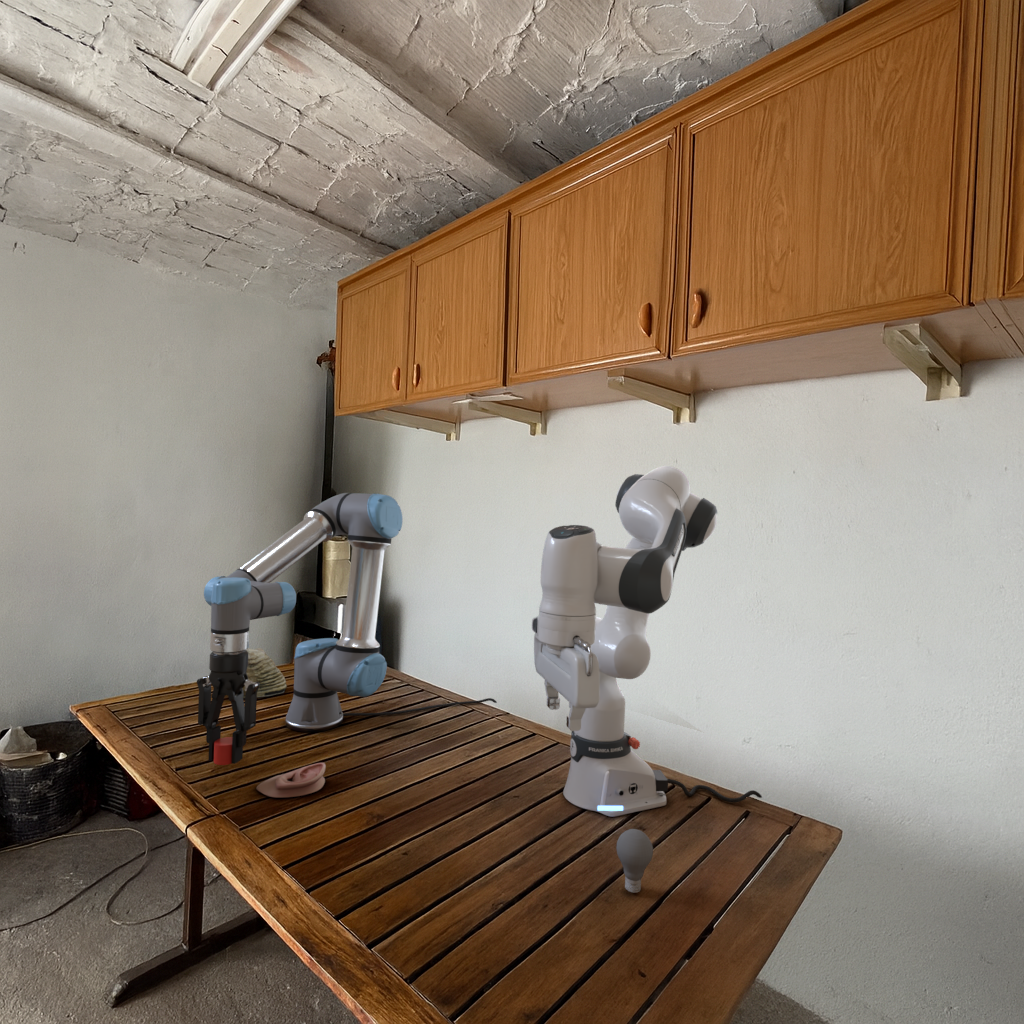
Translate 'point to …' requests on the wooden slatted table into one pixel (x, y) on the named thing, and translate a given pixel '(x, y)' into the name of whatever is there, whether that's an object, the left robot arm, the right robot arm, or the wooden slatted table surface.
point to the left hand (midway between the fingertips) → (225, 759)
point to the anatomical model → (295, 782)
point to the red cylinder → (223, 751)
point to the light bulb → (634, 857)
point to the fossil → (264, 673)
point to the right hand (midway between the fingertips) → (562, 718)
